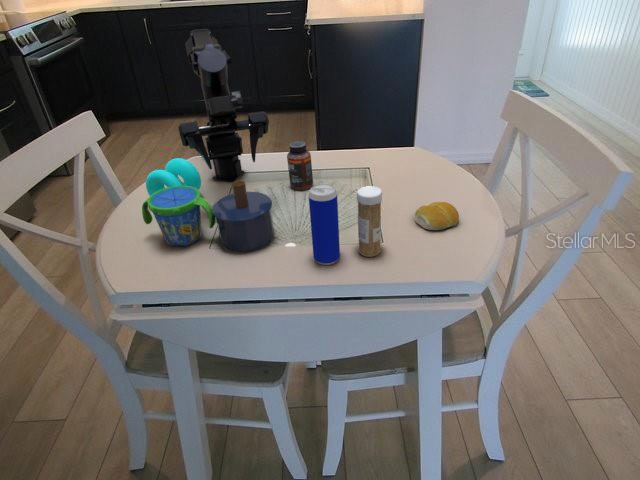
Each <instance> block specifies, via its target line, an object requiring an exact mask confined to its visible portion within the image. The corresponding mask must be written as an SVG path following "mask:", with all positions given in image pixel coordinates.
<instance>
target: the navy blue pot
mask: <svg viewBox="0 0 640 480" xmlns="http://www.w3.org/2000/svg"><path fill="white" fill-rule="evenodd" d="M272 213H273V212H272V208H271V209H270V211H269V212H268V213H266V214H265V215H263V216H262V217H259V218H257V219H254V220H251V221H246V222H237V223H233V222H225V221H221V220H219V219H217V218H216V217H215V218H216V219H215V222H216V226H217V228H218V229H217V231H218V234H219V240H220V242H221V245H222V247H223V248H224V249H226V250H227V251H230V252H232V253H242V254H243V253H252V252H256V251H259V250H261V249H264V248H266V247H267V246H268V245H269V244H271V243H272V241H274V237H275V229H274V222H273V214H272Z"/></svg>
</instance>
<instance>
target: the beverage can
mask: <svg viewBox="0 0 640 480" xmlns="http://www.w3.org/2000/svg"><path fill="white" fill-rule="evenodd" d="M338 201H339V200H338V192H337V190H336V187H335V186H334V185H332V184H329V183H320V184H315V185H312V187H310V188H309V192H308V207H309V218H310V230H311V231H310V232H311V240H312V241H311V243H312V254H313V255H312V256H313V260H314V261H315V262H316V263H318V264H319V265H321V266H322V265H323V266H328V265H333V264H335V263H337V262H338V261H339V259H340V257H341V249H340V227H339V205H338V204H339V203H338Z"/></svg>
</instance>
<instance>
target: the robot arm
mask: <svg viewBox="0 0 640 480" xmlns="http://www.w3.org/2000/svg"><path fill="white" fill-rule="evenodd" d="M189 34H190V37H189V38H188V39H187V41H186V42H185V43H184V44H185V50H186V54H187V60H188V64H189V65H191V67H192V70H193V73H194V74H195V75H196V76H197V77H199V79H200V85H201V90H202V94H203V99H204V104H205V108H206V113H207V118H208V121H207V123H206V125H205V126H199V125H198V121H197V120H194V121H188V122H182V123H179V125H178V127H177V128H178V133H179V137H180V140H181V144H182V146H183V147H189V149H190V150H193V149H194V150H195V151H196V152H197V153H198V154H199V155H200V156H201V158H202V160H203V161H204V163H205V164H206V166H207V167H208V169H209V170H213V169H214V173H215V174H214V176H212V180H214V181H221V182H229V183H233V182H235V181H237V179H239V178H240V177H241V176H242V175H244V174H245V170H243V169H242V162H241V159H240V158H239V156H242V154H244V150H243V139H242V137H241V136H240V135H239V133H238V132H239V131H246V130H248V132H249V143H250V144H249V146H250V155H251V160H252V163H255V162H256V155H257V145H258V142H259V139H262V138H263V137H264V135H266V134H267V133H268V132H269V124H270V123H269V122H270V120H269V117H268V114H267V112H265V111H263V110H262V111H256V112H249V113H247V119H245V120H239V121H237V118H238V115H237V111H236V109H241V108H243V107H244V102H243V98H242V93H241V90H237V91H236V90H235V91H230V87H229V83H228V80H229V75H228V74H229V72H228V68H230V65H232V58H231V57H230V55H228V53H227V52H226V50H225V49H224V50H223V48H222V46H221V45H220V44H219V43H218V39H216V38H215V37H214V36H213V35H212V32H211V29H208V28H202V29H193V30H191V31H190V32H189ZM203 137H205V142H204V139H203ZM205 143H206V145H205ZM211 161H212V162H211ZM212 164H213V165H212ZM212 166H213V167H212Z"/></svg>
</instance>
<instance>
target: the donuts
mask: <svg viewBox="0 0 640 480" xmlns="http://www.w3.org/2000/svg"><path fill="white" fill-rule="evenodd" d="M180 177H181V178H180ZM173 186H191V187H194V188H196V189H198V190H199V191H200V189H201V186H202V177H201V174H200V172H199V170H198V168H197V167H196V166H195V165H194V164H193V163H192V162H190V161H189V160H187V159H185V158H181V157H175V158H172V159H170V160H169V161H168V162H167V163H166V165H165V167H164V169H155V170H153V171H151V172H149V174H148V175H147V177H146V180H145V188H146V191H147V194H148V196H149V197H150V196H151V195H152V194H154V193H155V192H157V191H159V190H161V189H165V188H168V187H173Z"/></svg>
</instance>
